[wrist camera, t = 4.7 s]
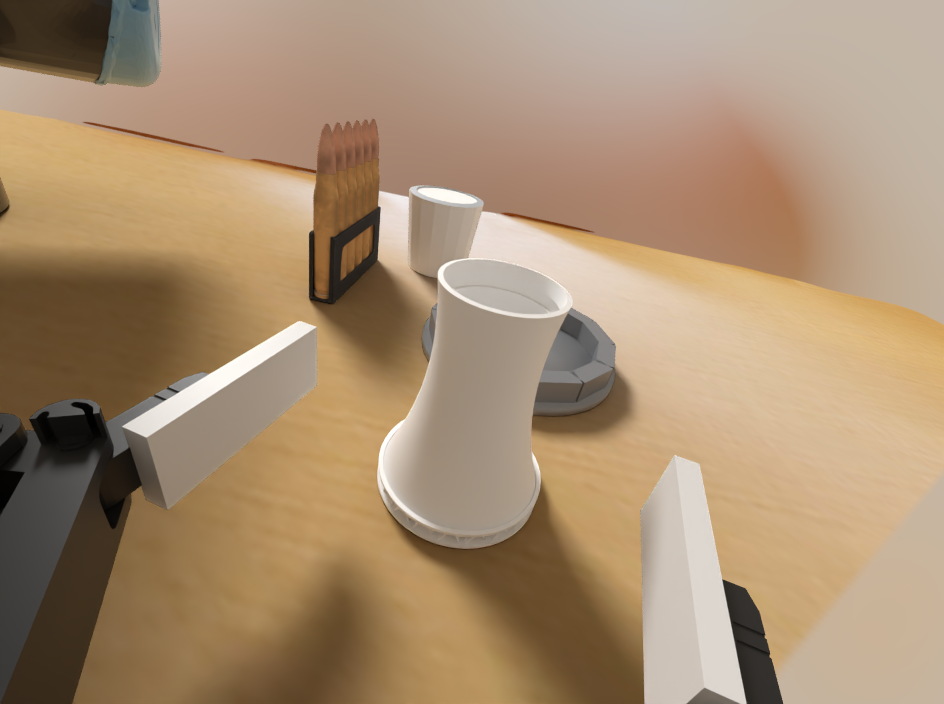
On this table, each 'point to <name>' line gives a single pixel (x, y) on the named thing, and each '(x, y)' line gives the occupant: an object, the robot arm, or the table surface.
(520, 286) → the vase
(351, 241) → the ammunition clip
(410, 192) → the shot glass
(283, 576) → the table surface
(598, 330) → the socket ring
